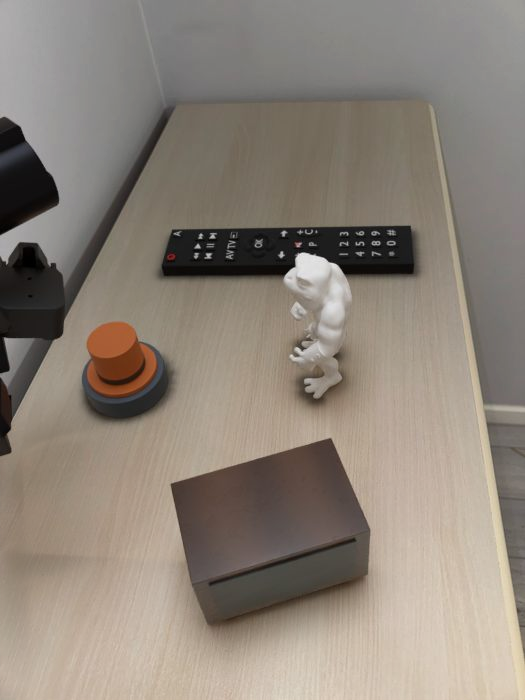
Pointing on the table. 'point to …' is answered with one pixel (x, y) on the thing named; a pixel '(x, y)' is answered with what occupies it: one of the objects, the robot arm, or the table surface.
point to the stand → (133, 402)
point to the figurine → (320, 316)
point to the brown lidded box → (271, 530)
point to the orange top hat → (119, 361)
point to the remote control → (288, 250)
